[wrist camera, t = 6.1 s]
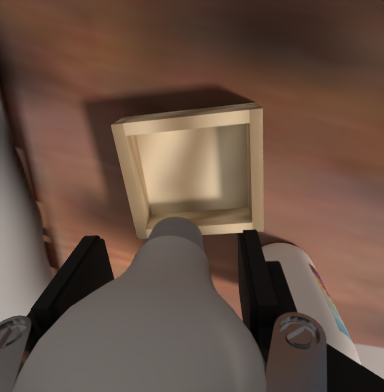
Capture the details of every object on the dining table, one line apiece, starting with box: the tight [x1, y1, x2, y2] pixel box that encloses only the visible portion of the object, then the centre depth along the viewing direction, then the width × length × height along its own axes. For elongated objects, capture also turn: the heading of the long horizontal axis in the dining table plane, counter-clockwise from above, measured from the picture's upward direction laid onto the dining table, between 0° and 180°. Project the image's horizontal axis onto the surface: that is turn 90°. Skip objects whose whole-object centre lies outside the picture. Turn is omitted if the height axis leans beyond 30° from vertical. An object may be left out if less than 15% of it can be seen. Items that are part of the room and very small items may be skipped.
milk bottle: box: [262, 243, 361, 365], centre depth 23 cm, size 8×8×20 cm
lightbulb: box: [12, 217, 267, 392], centre depth 9 cm, size 6×6×11 cm
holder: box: [111, 102, 264, 239], centre depth 26 cm, size 12×11×4 cm
